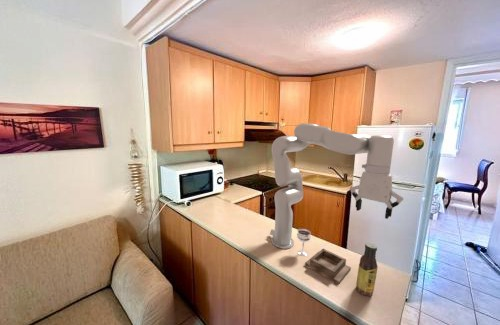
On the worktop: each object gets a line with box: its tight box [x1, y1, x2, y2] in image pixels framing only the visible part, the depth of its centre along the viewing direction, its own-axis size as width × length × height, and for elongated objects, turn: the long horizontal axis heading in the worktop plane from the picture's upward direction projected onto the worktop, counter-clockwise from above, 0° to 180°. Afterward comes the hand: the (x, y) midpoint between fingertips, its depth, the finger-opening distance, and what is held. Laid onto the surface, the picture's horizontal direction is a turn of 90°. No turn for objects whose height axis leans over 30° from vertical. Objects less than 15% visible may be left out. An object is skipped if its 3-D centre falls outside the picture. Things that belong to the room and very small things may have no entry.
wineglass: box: [297, 228, 312, 257], centre depth 104 cm, size 7×7×12 cm
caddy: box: [304, 248, 352, 285], centre depth 94 cm, size 16×13×4 cm
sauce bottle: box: [356, 242, 378, 297], centre depth 80 cm, size 6×6×20 cm
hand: (372, 213), depth 77 cm, fingers open, 9 cm apart
